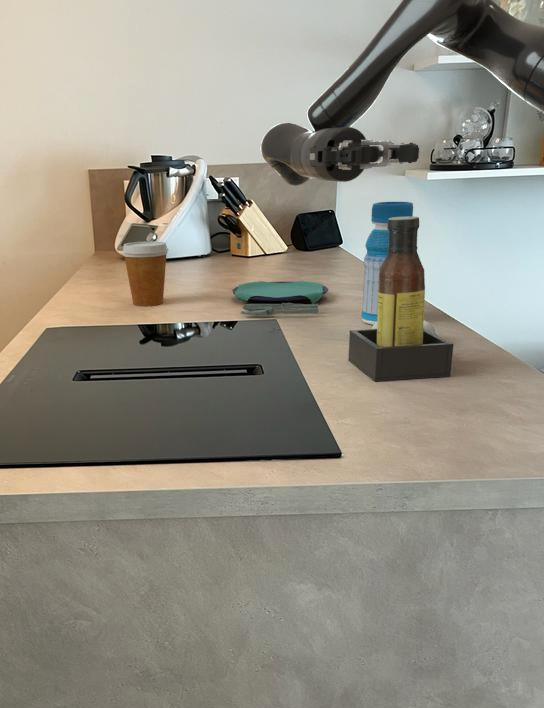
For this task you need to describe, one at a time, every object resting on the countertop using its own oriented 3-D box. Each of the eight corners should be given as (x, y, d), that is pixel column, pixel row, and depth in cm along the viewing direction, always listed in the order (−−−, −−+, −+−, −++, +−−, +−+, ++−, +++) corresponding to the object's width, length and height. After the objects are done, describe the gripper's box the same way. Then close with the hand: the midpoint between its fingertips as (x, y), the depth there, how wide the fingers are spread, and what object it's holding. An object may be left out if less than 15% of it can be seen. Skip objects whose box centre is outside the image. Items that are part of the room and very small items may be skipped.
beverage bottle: (357, 325, 137) (364, 205, 129) (363, 316, 144) (370, 201, 137) (407, 327, 134) (417, 204, 127) (411, 317, 142) (420, 200, 134)
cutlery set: (327, 290, 171) (328, 279, 170) (328, 318, 144) (329, 305, 143) (236, 290, 174) (236, 280, 173) (221, 318, 147) (221, 305, 146)
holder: (417, 356, 117) (419, 325, 115) (450, 376, 106) (453, 343, 105) (348, 360, 116) (349, 330, 114) (374, 381, 105) (376, 348, 104)
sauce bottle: (426, 361, 112) (439, 215, 104) (413, 372, 107) (426, 219, 99) (381, 357, 115) (390, 214, 107) (367, 367, 110) (375, 219, 102)
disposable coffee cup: (152, 297, 170) (149, 240, 166) (180, 302, 164) (177, 242, 159) (116, 303, 165) (112, 244, 160) (143, 309, 158) (140, 247, 153)
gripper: (290, 129, 117) (341, 125, 102) (376, 126, 120) (436, 122, 106) (289, 183, 120) (338, 187, 105) (373, 178, 123) (432, 181, 109)
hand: (387, 154), depth 106 cm, fingers open, 8 cm apart
